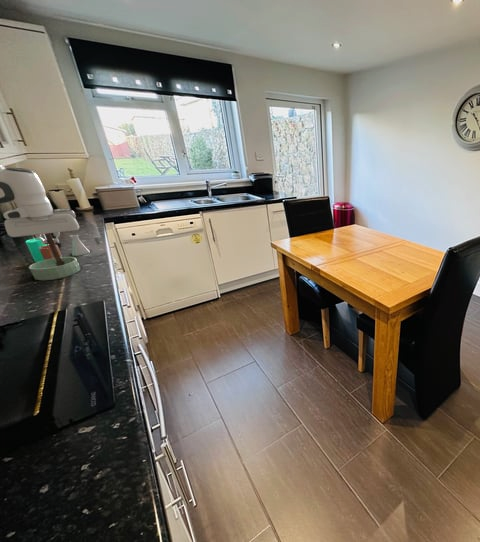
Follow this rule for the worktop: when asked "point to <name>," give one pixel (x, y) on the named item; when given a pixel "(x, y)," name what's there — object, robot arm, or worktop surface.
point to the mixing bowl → (54, 268)
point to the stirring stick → (54, 250)
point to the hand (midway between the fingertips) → (51, 243)
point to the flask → (78, 246)
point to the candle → (35, 249)
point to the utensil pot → (48, 252)
